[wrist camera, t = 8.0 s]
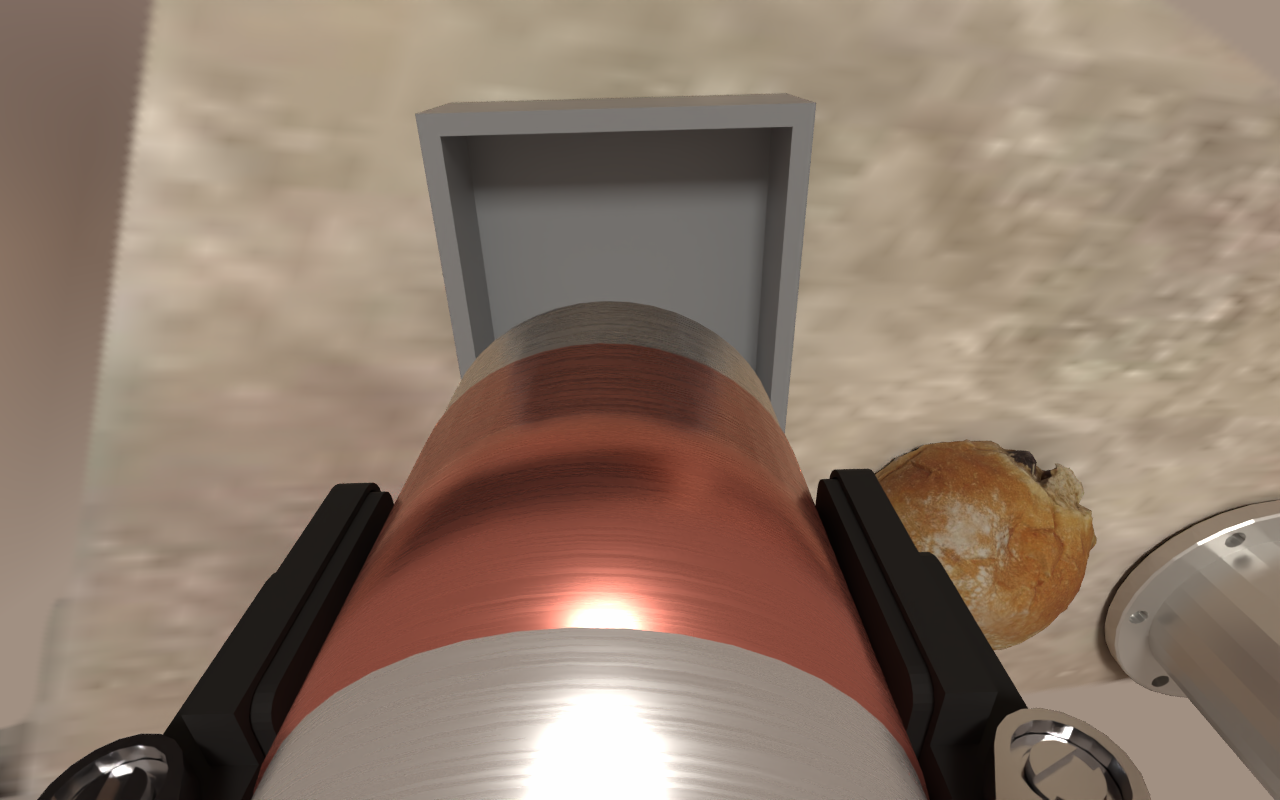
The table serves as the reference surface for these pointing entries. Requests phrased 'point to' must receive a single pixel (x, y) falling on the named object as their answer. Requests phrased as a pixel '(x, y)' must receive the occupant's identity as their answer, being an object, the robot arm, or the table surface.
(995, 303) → the table surface
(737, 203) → the crate
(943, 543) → the bread roll
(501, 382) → the red drink can
